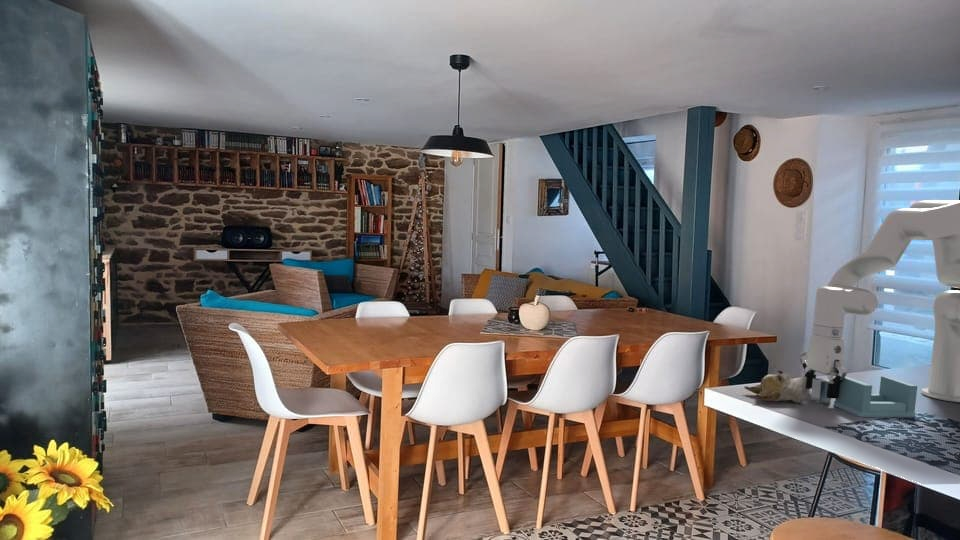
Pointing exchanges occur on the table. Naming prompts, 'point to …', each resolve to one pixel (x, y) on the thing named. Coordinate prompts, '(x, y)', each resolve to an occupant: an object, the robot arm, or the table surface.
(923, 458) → the table surface
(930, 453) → the table surface
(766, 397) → the ceramic sculpture
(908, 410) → the teal open frame
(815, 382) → the brushed grey metal block
